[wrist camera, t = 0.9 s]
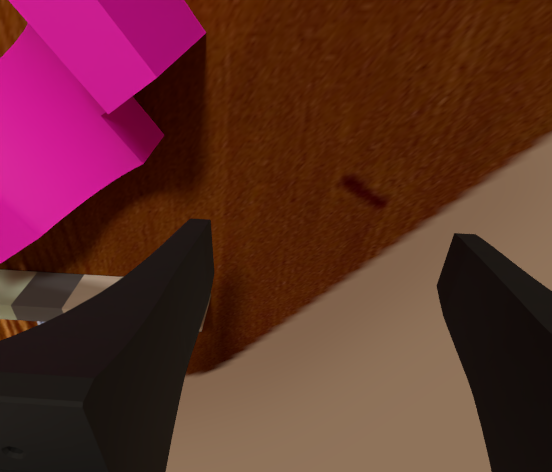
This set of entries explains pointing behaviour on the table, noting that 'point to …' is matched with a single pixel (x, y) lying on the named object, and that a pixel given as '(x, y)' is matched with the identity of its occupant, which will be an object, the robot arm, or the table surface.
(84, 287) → the trap lane
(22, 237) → the toy block
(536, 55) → the table surface
